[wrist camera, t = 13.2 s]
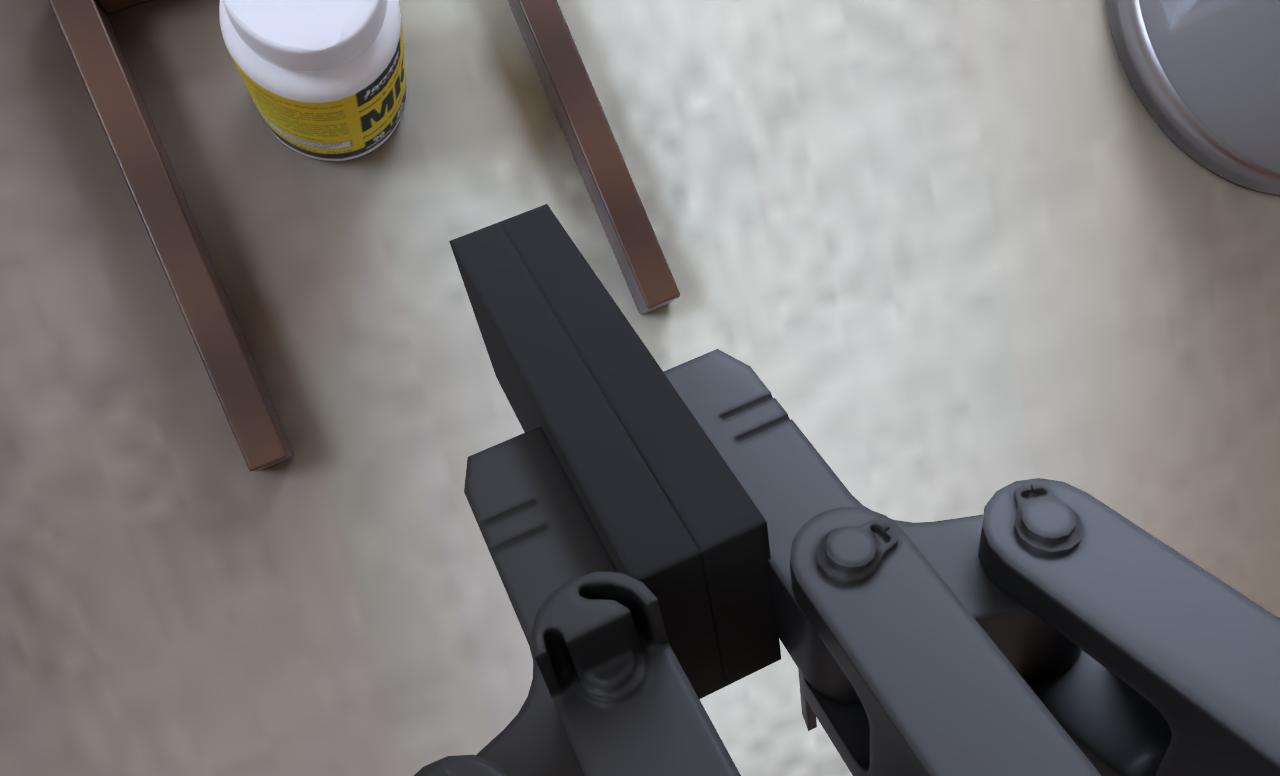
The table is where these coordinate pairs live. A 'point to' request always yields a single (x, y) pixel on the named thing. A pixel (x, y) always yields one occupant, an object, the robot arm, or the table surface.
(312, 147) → the supplement bottle
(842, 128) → the table surface
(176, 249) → the bay
